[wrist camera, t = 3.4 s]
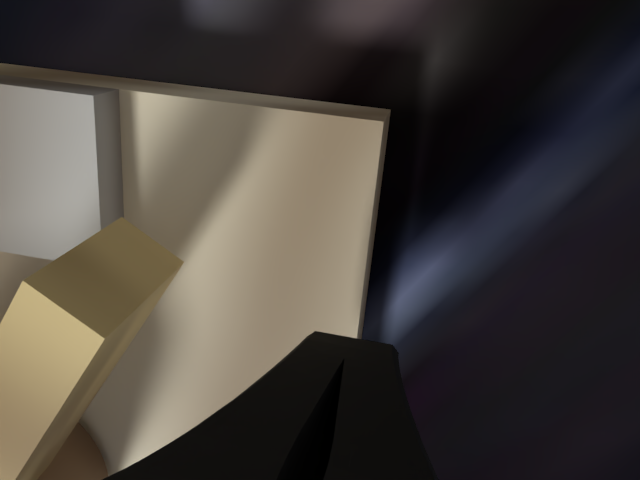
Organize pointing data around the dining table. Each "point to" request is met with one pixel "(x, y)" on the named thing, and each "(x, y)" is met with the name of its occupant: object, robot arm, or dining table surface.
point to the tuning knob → (72, 348)
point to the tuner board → (193, 228)
